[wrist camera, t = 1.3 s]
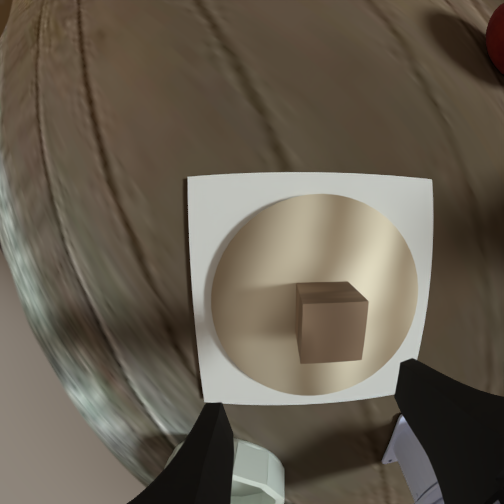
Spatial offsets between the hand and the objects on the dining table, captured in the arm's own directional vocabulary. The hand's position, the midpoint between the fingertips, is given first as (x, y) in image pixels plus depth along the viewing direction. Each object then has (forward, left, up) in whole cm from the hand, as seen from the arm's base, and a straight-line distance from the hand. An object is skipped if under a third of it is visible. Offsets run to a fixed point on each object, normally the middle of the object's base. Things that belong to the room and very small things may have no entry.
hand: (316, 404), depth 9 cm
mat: (-1, -1, -10) cm, 11 cm away
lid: (-1, -1, -10) cm, 10 cm away
